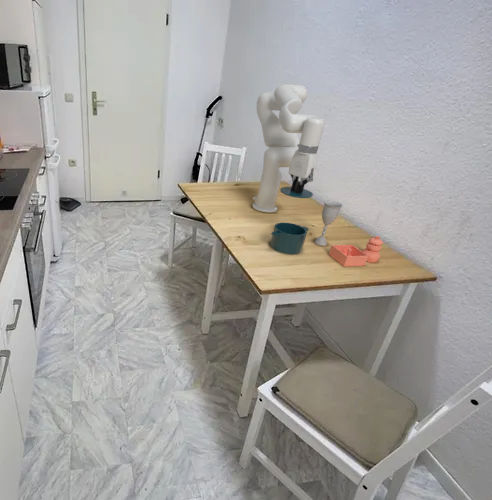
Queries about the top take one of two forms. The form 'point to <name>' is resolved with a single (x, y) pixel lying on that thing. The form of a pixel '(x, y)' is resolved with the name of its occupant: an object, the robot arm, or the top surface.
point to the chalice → (328, 218)
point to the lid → (293, 193)
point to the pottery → (357, 253)
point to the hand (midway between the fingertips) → (296, 191)
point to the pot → (288, 238)
